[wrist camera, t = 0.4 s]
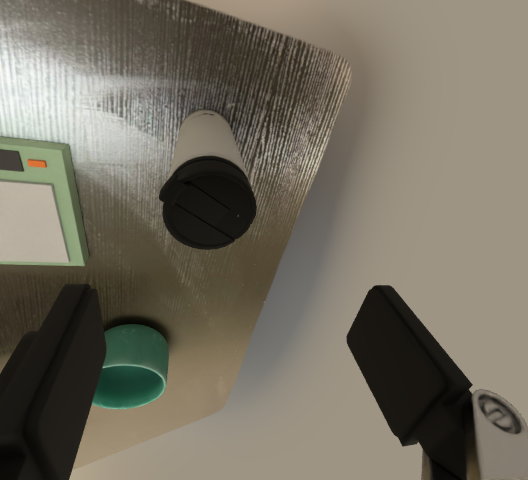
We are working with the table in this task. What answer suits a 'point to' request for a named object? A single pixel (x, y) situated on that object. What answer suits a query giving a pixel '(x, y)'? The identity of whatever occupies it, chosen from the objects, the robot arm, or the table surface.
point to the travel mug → (207, 185)
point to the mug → (132, 367)
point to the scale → (39, 205)
